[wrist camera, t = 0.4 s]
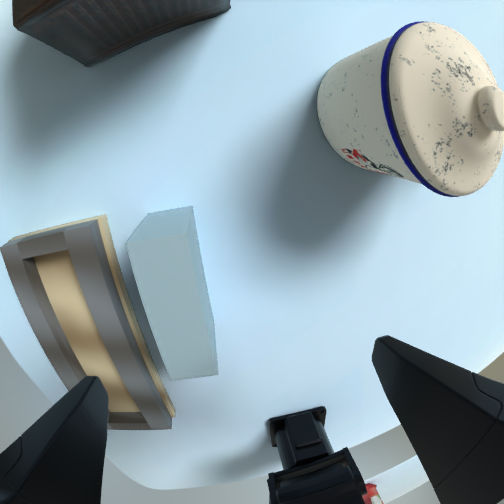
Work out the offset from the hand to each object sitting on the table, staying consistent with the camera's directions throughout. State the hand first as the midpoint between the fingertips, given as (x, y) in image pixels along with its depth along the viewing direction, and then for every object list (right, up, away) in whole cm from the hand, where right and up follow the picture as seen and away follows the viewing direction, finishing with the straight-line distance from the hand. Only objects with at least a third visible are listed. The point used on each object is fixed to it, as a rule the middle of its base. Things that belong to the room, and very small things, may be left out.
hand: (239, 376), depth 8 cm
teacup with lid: (+10, +14, +10) cm, 20 cm away
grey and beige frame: (-13, -4, +13) cm, 18 cm away
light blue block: (-5, +2, +12) cm, 13 cm away
